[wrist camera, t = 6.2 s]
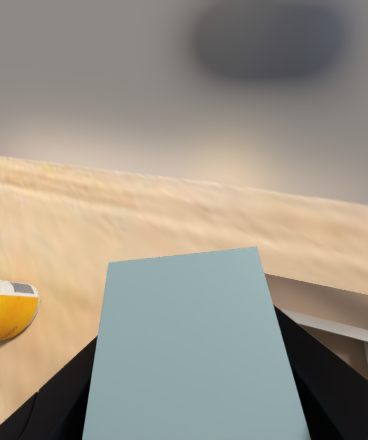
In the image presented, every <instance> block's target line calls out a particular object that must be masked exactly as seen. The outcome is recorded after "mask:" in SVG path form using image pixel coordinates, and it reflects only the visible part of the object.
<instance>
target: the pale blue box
mask: <svg viewBox="0 0 368 440" xmlns="http://www.w3.org/2000/svg"><path fill="white" fill-rule="evenodd" d="M82 440H311V438H310V435H309V431H308V428H307V424H306V421H305V417H304V413H303V410H302V406H301V403H300V399H299V396H298V392H297V388H296V385H295V381H294V378H293V374H292V371H291V367H290V363H289V360H288V356H287V353H286V349H285V346H284V342H283V338H282V335H281V331H280V328H279V324H278V321H277V317H276V313H275V310H274V306H273V303H272V299H271V296H270V292H269V288H268V285H267V281H266V278H265V274H264V271H263V267H262V263H261V260H260V256H259V253H258V249H257V247H250V248H240V249H231V250H222V251H212V252H203V253H194V254H184V255H175V256H166V257H156V258H147V259H138V260H128V261H119V262H110V263H109V265H108V271H107V278H106V285H105V291H104V298H103V305H102V311H101V318H100V324H99V331H98V338H97V344H96V351H95V358H94V364H93V371H92V378H91V384H90V391H89V398H88V404H87V411H86V418H85V424H84V431H83V438H82Z"/></svg>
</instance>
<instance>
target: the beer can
mask: <svg viewBox="0 0 368 440" xmlns="http://www.w3.org/2000/svg"><path fill="white" fill-rule="evenodd" d="M39 306H40V296H39V293H38V292H37V290H36V288H35V287H34V286H33V285H31V284H27V283H19V282H12V281H5V280H0V340H5V339H9V338H12V337H14V336H16V335H17V334H19V333H20V332H21V331H22V330H23V329H25V328H26V327H27V326H28V325H29V324H30V323H31V322H32V321H33V319H34V318H35V316H36V314H37V312H38V309H39Z"/></svg>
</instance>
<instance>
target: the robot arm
mask: <svg viewBox="0 0 368 440" xmlns="http://www.w3.org/2000/svg"><path fill="white" fill-rule="evenodd" d="M273 306H274V310H275V313H276V317H277V321H278V324H279V328H280V331H281V335H282V338H283V342H284V346H285V349H286V353H287V356H288V360H289V363H290V367H291V371H292V374H293V378H294V381H295V385H296V388H297V392H298V396H299V399H300V403H301V406H302V410H303V413H304V417H305V421H306V424H307V428H308V431H309V435H310V438H311V440H368V379H367V378H365V377H364V376H363V375H362V374H360V373H359V372H358V371H357V370H355V369H354V368H353V367H352V366H350V365H349V364H348V363H347V362H345V361H344V360H343V359H342V358H340V357H339V356H338V355H337V354H335V353H334V352H333V351H331V350H330V349H329V348H328V347H326V346H325V345H324V344H323V343H321V342H320V341H319V340H318V339H316V338H315V337H314V336H313V335H311V334H310V333H309V332H308V331H306V330H305V329H304V328H303V327H301V326H300V325H299V324H298V323H296V322H295V321H294V320H292V319H291V318H290V317H289V316H287V315H286V314H285V313H284V312H282V311H281V310H280V309H279V308H277V307H276V306H275V305H274V304H273ZM97 338H98V336H96V337H95V338H94V339H93V340H92V341H91V342H90V343H89V344H88V345H87V346H86V347H85V348H83V349H82V350H81V351H80V352H79V353H78V354H77V355H76V356H75V357H74V358H73V359H72V360H70V361H69V362H68V363H67V364H66V365H65V366H64V367H63V368H62V369H61V370H60V371H59V372H58V373H56V374H55V375H54V376H53V377H52V378H51V379H50V380H49V381H48V382H47V383H46V384H44V385H43V386H42V387H41V388H40V389H39V392H36V393H35V394H34V395H32V396H31V397H30V398H29V399H28V400H27V401H26V402H25V403H24V404H23V405H22V406H21V407H19V408H18V409H17V410H16V411H15V412H14V413H13V414H12V415H11V416H9V417H8V418H7V419H6V420H5V421H4V422H3V423H2V424H1V425H0V440H82V438H83V431H84V424H85V418H86V411H87V404H88V398H89V391H90V384H91V378H92V371H93V364H94V358H95V351H96V344H97Z"/></svg>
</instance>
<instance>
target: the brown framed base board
mask: <svg viewBox="0 0 368 440" xmlns="http://www.w3.org/2000/svg"><path fill="white" fill-rule="evenodd" d="M265 278H266V281H267V285H268V288H269V292H270V296H271V299H272V303H273V304H274V305H275V306H276V307H277V308H279V309H280V310H281V311H282V312H284V313H285V314H286V315H287V316H289V317H290V318H291V319H292V320H294V321H295V322H296V323H298V324H299V325H300V326H301V327H303V328H304V329H305V330H306V331H308V332H309V333H310V334H311V335H313V336H314V337H315V338H316V339H318V340H319V341H320V342H321V343H323V344H324V345H325V346H326V347H328V348H329V349H330V350H331V351H333V352H334V353H335V354H337V355H338V356H339V357H340V358H342V359H343V360H344V361H345V362H347V363H348V364H349V365H350V366H352V367H353V368H354V369H355V370H357V371H358V372H359V373H360V374H362V375H363V376H364V377H365V378H367V379H368V295H365V294H361V293H356V292H351V291H346V290H341V289H336V288H332V287H327V286H322V285H317V284H312V283H308V282H303V281H298V280H293V279H288V278H284V277H279V276H274V275H269V274H265Z"/></svg>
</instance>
